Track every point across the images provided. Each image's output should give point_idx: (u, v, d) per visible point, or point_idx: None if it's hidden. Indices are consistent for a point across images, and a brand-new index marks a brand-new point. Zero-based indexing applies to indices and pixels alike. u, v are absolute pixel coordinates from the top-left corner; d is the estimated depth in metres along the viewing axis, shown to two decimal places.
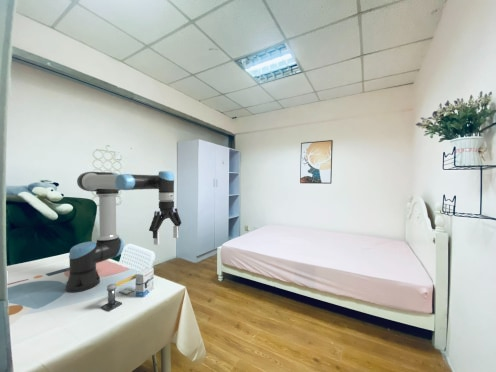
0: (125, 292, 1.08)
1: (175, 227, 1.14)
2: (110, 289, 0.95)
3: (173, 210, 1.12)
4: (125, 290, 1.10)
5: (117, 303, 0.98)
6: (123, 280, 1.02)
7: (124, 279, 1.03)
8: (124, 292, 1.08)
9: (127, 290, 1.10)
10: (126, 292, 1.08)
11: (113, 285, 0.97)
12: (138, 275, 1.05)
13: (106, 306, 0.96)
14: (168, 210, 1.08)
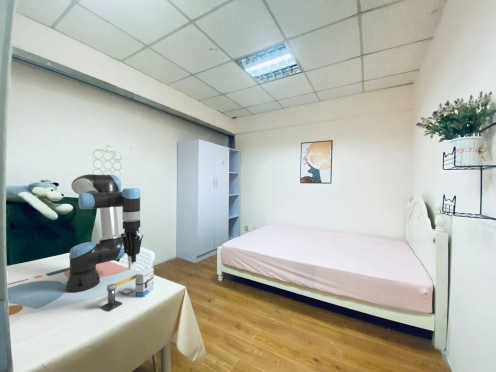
0: (125, 292, 1.08)
1: None
2: (110, 289, 0.95)
3: None
4: (125, 290, 1.10)
5: (117, 303, 0.98)
6: (123, 280, 1.02)
7: (124, 279, 1.03)
8: (124, 292, 1.08)
9: (127, 290, 1.10)
10: (126, 292, 1.08)
11: (113, 285, 0.97)
12: (138, 275, 1.05)
13: (106, 306, 0.96)
14: None
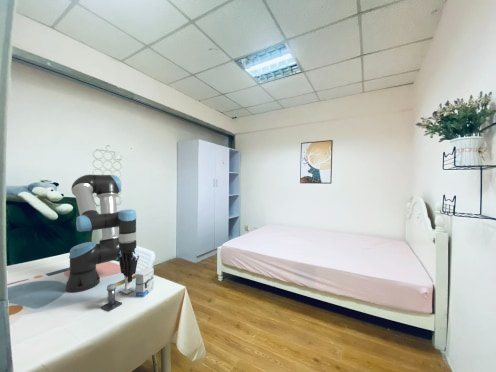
0: (125, 292, 1.08)
1: None
2: (110, 289, 0.95)
3: None
4: (125, 290, 1.10)
5: (117, 303, 0.98)
6: (123, 280, 1.02)
7: (124, 279, 1.03)
8: (124, 292, 1.08)
9: (127, 290, 1.10)
10: (126, 292, 1.08)
11: (113, 285, 0.97)
12: (138, 275, 1.05)
13: (106, 306, 0.96)
14: None
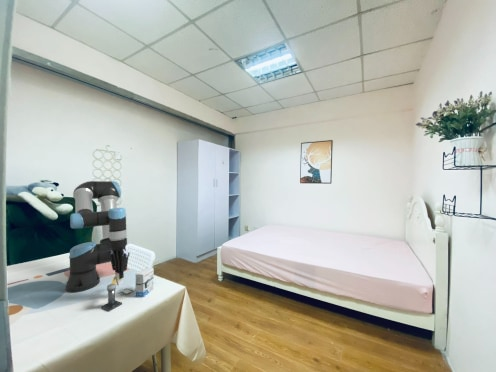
0: (125, 292, 1.08)
1: None
2: (114, 288, 0.96)
3: None
4: (125, 290, 1.10)
5: (117, 303, 0.98)
6: (114, 280, 1.02)
7: (113, 279, 1.03)
8: (124, 292, 1.08)
9: (127, 290, 1.10)
10: (126, 292, 1.08)
11: (113, 284, 0.98)
12: (138, 275, 1.05)
13: (106, 306, 0.96)
14: None
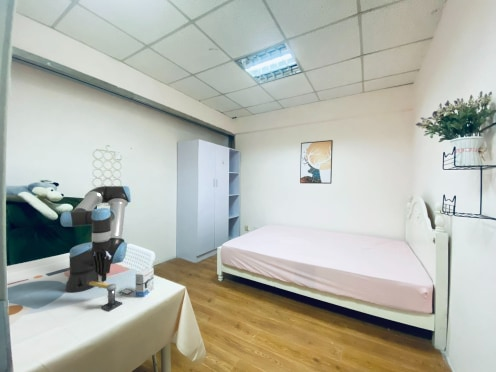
0: (125, 292, 1.08)
1: None
2: None
3: None
4: (125, 290, 1.10)
5: (117, 303, 0.98)
6: (102, 283, 0.99)
7: (100, 284, 0.98)
8: (124, 292, 1.08)
9: (127, 290, 1.10)
10: (126, 292, 1.08)
11: (111, 284, 0.98)
12: (138, 275, 1.05)
13: (106, 306, 0.96)
14: None
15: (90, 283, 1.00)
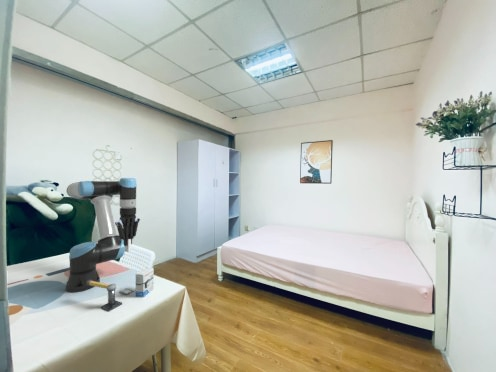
0: (125, 292, 1.08)
1: None
2: None
3: (135, 218, 1.12)
4: (125, 290, 1.10)
5: (117, 303, 0.98)
6: (102, 283, 0.99)
7: (99, 284, 0.98)
8: (124, 292, 1.08)
9: (127, 290, 1.10)
10: (126, 292, 1.08)
11: (111, 284, 0.98)
12: (138, 275, 1.05)
13: (106, 306, 0.96)
14: (129, 216, 1.08)
15: (90, 283, 1.00)
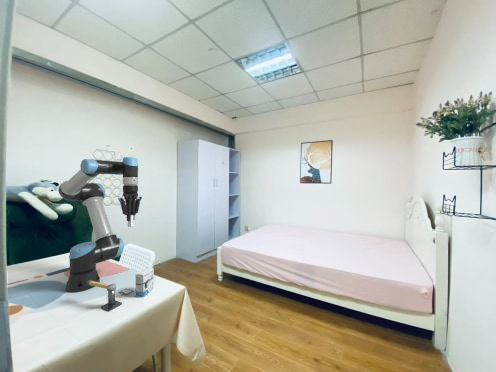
0: (125, 292, 1.08)
1: None
2: None
3: (137, 196, 1.19)
4: (125, 290, 1.10)
5: (117, 303, 0.98)
6: (102, 283, 0.99)
7: (99, 284, 0.98)
8: (124, 292, 1.08)
9: (127, 290, 1.10)
10: (126, 292, 1.08)
11: (111, 284, 0.98)
12: (138, 275, 1.05)
13: (106, 306, 0.96)
14: (132, 194, 1.15)
15: (90, 283, 1.00)
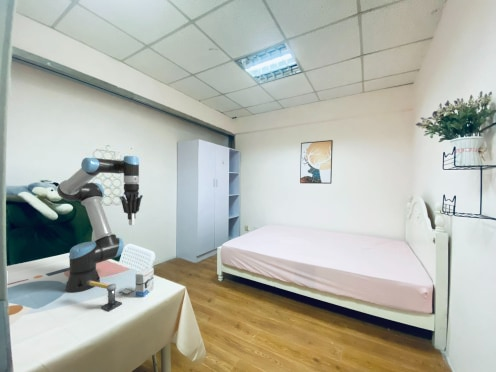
0: (125, 292, 1.08)
1: None
2: None
3: (138, 195, 1.20)
4: (125, 290, 1.10)
5: (117, 303, 0.98)
6: (102, 283, 0.99)
7: (99, 284, 0.98)
8: (124, 292, 1.08)
9: (127, 290, 1.10)
10: (126, 292, 1.08)
11: (111, 284, 0.98)
12: (138, 275, 1.05)
13: (106, 306, 0.96)
14: (133, 192, 1.16)
15: (90, 283, 1.00)
